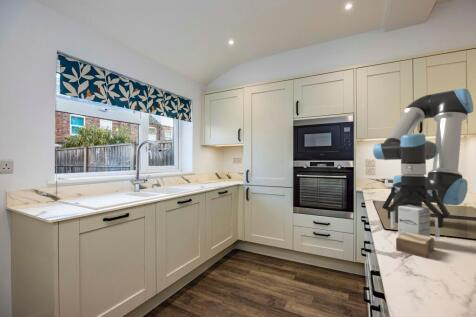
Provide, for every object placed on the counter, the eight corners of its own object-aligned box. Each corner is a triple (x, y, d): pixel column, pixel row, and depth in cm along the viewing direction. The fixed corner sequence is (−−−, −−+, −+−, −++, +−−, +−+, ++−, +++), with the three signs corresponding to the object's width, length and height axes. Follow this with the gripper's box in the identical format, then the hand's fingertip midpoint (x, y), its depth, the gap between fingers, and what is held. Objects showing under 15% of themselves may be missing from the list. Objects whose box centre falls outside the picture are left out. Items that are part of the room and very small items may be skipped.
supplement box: (397, 238, 88) (397, 205, 88) (409, 236, 91) (409, 204, 91) (418, 245, 82) (418, 209, 82) (431, 242, 84) (430, 207, 85)
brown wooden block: (405, 243, 83) (405, 231, 83) (434, 250, 77) (434, 237, 77) (396, 250, 77) (396, 237, 77) (426, 258, 71) (426, 244, 71)
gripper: (373, 174, 94) (373, 226, 94) (456, 177, 74) (457, 243, 74) (380, 173, 99) (380, 223, 98) (460, 176, 79) (461, 238, 79)
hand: (413, 231), depth 86 cm, fingers open, 13 cm apart
